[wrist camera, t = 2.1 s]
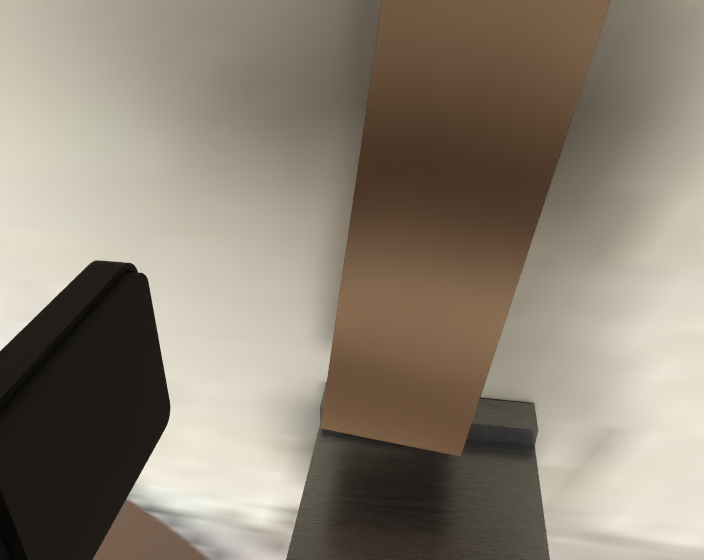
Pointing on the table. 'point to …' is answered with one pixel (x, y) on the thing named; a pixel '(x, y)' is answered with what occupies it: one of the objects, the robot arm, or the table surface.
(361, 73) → the table surface
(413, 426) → the walnut rod
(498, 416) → the ridge stand
